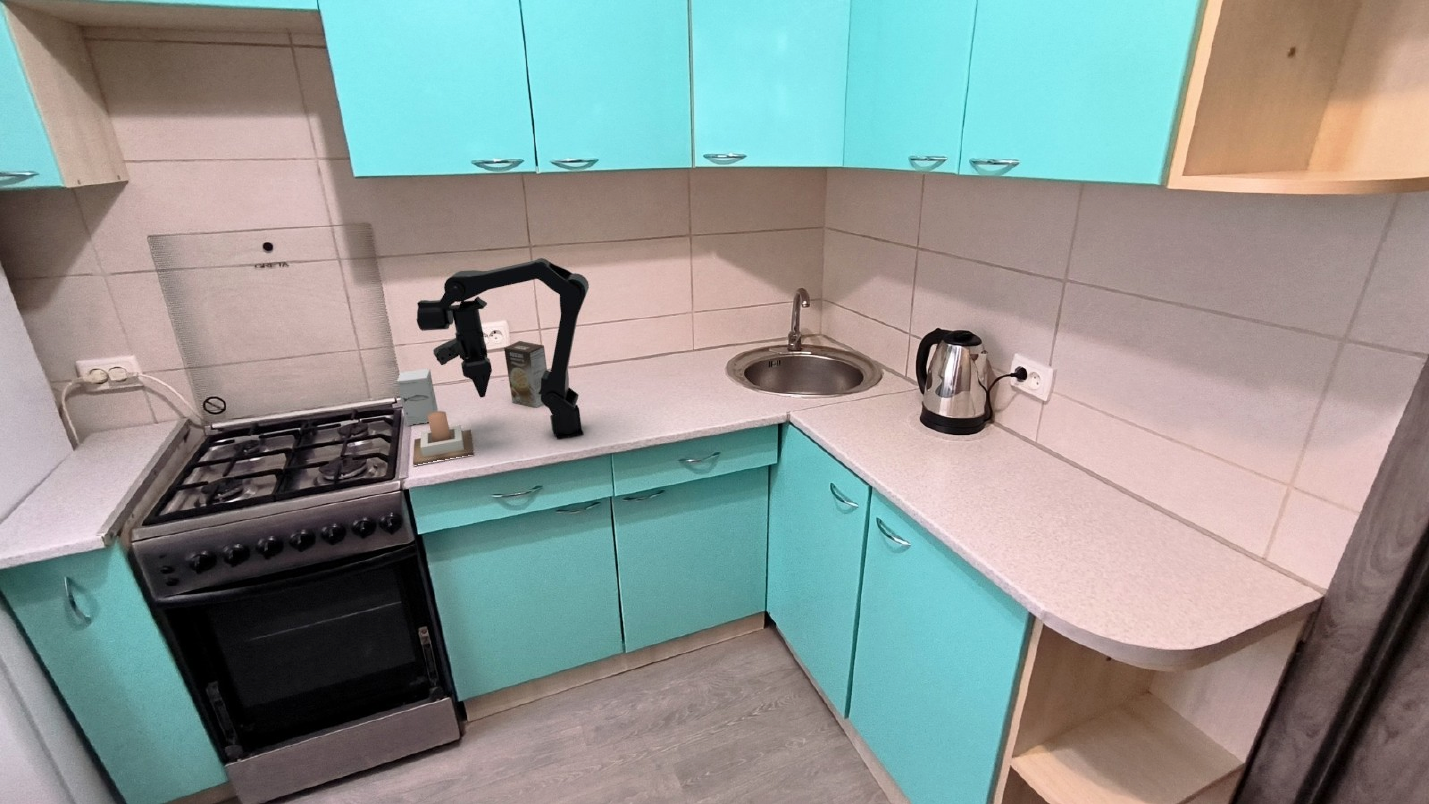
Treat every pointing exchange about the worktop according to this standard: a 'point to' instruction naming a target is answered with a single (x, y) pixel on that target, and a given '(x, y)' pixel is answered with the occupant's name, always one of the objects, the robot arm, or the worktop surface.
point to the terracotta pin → (439, 426)
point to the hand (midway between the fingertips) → (481, 390)
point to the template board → (442, 446)
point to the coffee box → (525, 372)
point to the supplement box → (417, 395)
